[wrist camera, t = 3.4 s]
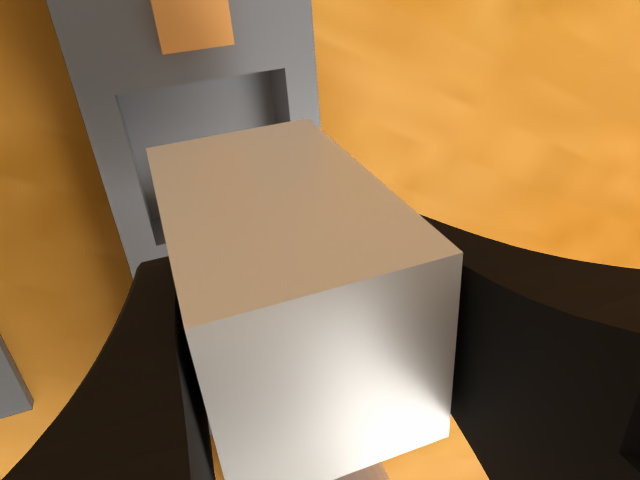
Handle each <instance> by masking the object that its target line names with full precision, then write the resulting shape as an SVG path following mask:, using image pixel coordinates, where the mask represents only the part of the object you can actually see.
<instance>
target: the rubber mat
mask: <svg viewBox="0 0 640 480" xmlns="http://www.w3.org/2000/svg"><path fill="white" fill-rule="evenodd" d="M33 402H34V400H33V398H32V396H31V394H30V392H29V390H28V388H27V386H26V384H25V382H24V380H23V378H22V377H21V375H20V373H19V371H18V369H17V367H16V365H15V363H14V361H13V359H12V357H11V355H10V353H9V351H8V349H7V347H6V345H5V343H4V341H3V339H2V337H1V335H0V419H1V418H4V417H8V416H11V415H15V414H18V413H21V412H25V411H28V410H32V409H33Z"/></svg>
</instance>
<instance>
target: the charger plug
mask: <svg viewBox="0 0 640 480" xmlns="http://www.w3.org/2000/svg"><path fill="white" fill-rule="evenodd" d="M146 152H147V157H148V161H149V166H150V171H151V175H152V180H153V185H154V189H155V194H156V199H157V204H158V208H159V213H160V218H161V222H162V227H163V232H164V236H165V241H166V246H167V250H168V255H169V260H170V265H171V269H172V274H173V279H174V283H175V288H176V293H177V297H178V302H179V307H180V311H181V316H182V321H183V326H184V330H185V334H186V338H187V341H188V345H189V349H190V353H191V356H192V360H193V364H194V367H195V371H196V375H197V379H198V382H199V386H200V390H201V394H202V397H203V401H204V405H205V408H206V412H207V416H208V420H209V423H210V427H211V431H212V435H213V438H214V442H215V446H216V450H217V453H218V457H219V461H220V464H221V468H222V472H223V476H224V479H225V480H334V479H337V478H339V477H342V476H345V475H347V474H350V473H353V472H355V471H358V470H360V469H363V468H366V467H368V466H371V465H374V464H376V463H379V462H382V461H384V460H387V459H390V458H392V457H395V456H398V455H400V454H403V453H406V452H408V451H411V450H414V449H416V448H419V447H422V446H424V445H427V444H430V443H432V442H435V441H438V440H440V439H443V438H446V437H448V436H449V425H450V412H451V400H452V387H453V374H454V362H455V349H456V337H457V324H458V312H459V299H460V287H461V274H462V261H463V252H462V251H461V250H460V249H459V248H457V247H456V246H455V245H454V244H453V243H452V242H451V241H449V240H448V239H447V238H446V237H445V236H444V235H442V234H441V233H440V232H439V231H438V230H437V229H435V228H434V227H433V226H432V225H431V224H430V223H429V222H427V221H426V220H425V219H424V218H423V217H422V216H420V215H419V214H418V213H417V212H416V211H415V210H413V209H412V208H411V207H410V206H409V205H408V204H407V203H405V202H404V201H403V200H402V199H401V198H400V197H398V196H397V195H396V194H395V193H394V192H393V191H391V190H390V189H389V188H388V187H387V186H386V185H385V184H383V183H382V182H381V181H380V180H379V179H378V178H376V177H375V176H374V175H373V174H372V173H371V172H369V171H368V170H367V169H366V168H365V167H364V166H363V165H361V164H360V163H359V162H358V161H357V160H356V159H354V158H353V157H352V156H351V155H350V154H349V153H347V152H346V151H345V150H344V149H343V148H342V147H341V146H339V145H338V144H337V143H336V142H335V141H334V140H332V139H331V138H330V137H329V136H328V135H327V134H325V133H324V132H323V131H322V130H321V129H320V128H319V127H317V126H316V125H315V124H314V123H313V122H312V121H310V120H309V119H308V118H306V119H301V120H295V121H290V122H284V123H279V124H274V125H268V126H263V127H257V128H252V129H247V130H241V131H236V132H231V133H225V134H220V135H214V136H209V137H204V138H198V139H193V140H187V141H182V142H177V143H171V144H166V145H161V146H155V147H150V148H146Z"/></svg>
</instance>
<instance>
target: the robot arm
mask: <svg viewBox="0 0 640 480" xmlns="http://www.w3.org/2000/svg"><path fill="white" fill-rule="evenodd" d="M419 215H420V214H419ZM420 216H422V215H420ZM422 217H423V218H424V219H425V220H426V221H427V222H429V223H430V224H431V225H432V226H433V227H434V228H435V229H437V230H438V231H439V232H440V233H441V234H442V235H444V236H445V237H446V238H447V239H448V240H449V241H451V242H452V243H453V244H454V245H455V246H456V247H457V248H459V249H460V250H461V251H462V252H463V261H462V274H461V287H460V299H459V312H458V324H457V337H456V349H455V362H454V374H453V387H452V400H451V412H450V413H451V415H452V416H453V418H454V420H455V421H456V423H457V425H458V426H459V428H460V430H461V431H462V433H463V435H464V436H465V438H466V440H467V441H468V443H469V444H470V446H471V448H472V449H473V451H474V453H475V455H476V456H477V458H478V460H479V462H480V464H481V465H482V467H483V469H484V471H485V472H486V474H487V476H488V478H489V479H490V480H640V269H633V268H624V267H617V266H610V265H603V264H597V263H590V262H583V261H578V260H572V259H567V258H562V257H557V256H553V255H548V254H544V253H539V252H535V251H531V250H527V249H523V248H519V247H515V246H512V245H508V244H505V243H502V242H498V241H495V240H492V239H488V238H485V237H482V236H479V235H476V234H473V233H470V232H467V231H464V230H461V229H458V228H455V227H453V226H450V225H447V224H444V223H442V222H439V221H436V220H433V219H431V218H428V217H425V216H422ZM2 480H215V474H214V466H213V458H212V449H211V441H210V432H209V424H208V416H207V412H206V408H205V405H204V401H203V397H202V394H201V390H200V386H199V382H198V379H197V375H196V371H195V367H194V364H193V360H192V356H191V353H190V349H189V345H188V341H187V338H186V334H185V330H184V326H183V321H182V316H181V311H180V307H179V302H178V297H177V293H176V288H175V283H174V279H173V274H172V269H171V265H170V260H169V256H166V257H162V258H158V259H153V260H149V261H145V262H141V263H140V265H139V266H138V267H137V269H136V273H135V276H134V279H133V282H132V285H131V288H130V291H129V293H128V296H127V298H126V301H125V303H124V305H123V308H122V310H121V312H120V314H119V316H118V319H117V321H116V323H115V325H114V327H113V329H112V331H111V333H110V335H109V337H108V339H107V341H106V342H105V344H104V346H103V348H102V350H101V351H100V353H99V355H98V357H97V359H96V361H95V362H94V364H93V366H92V367H91V369H90V370H89V372H88V374H87V375H86V377H85V378H84V380H83V381H82V383H81V384H80V386H79V387H78V389H77V390H76V392H75V393H74V394H73V396H72V397H71V399H70V400H69V402H68V403H67V404H66V406H65V407H64V408H63V410H62V411H61V412H60V414H59V415H58V416H57V417H56V419H55V420H54V421H53V422H52V424H51V425H50V426H49V427H48V428H47V430H46V431H45V432H44V433H43V434H42V436H41V437H40V438H39V439H38V440H37V442H36V443H35V444H34V445H33V446H32V448H31V449H30V450H29V451H28V452H27V453H26V454H25V455H24V457H23V458H22V459H21V460H20V461H19V462H18V463H17V464H16V465H15V466H14V467H13V468H12V469H11V470H10V471H9V473H8V474H7V475H6V476H5V477H4V478H3V479H2ZM334 480H390V478H389V476H388V474H387V472H386V470H385V468H384V467H383V465H382V463H381V462H379V463H376V464H374V465H371V466H368V467H366V468H363V469H360V470H358V471H355V472H353V473H350V474H347V475H345V476H342V477H339V478H337V479H334Z"/></svg>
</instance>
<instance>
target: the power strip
mask: <svg viewBox="0 0 640 480" xmlns="http://www.w3.org/2000/svg"><path fill="white" fill-rule="evenodd" d="M46 3H47V6H48V9H49V12H50V15H51V19H52V22H53V25H54V28H55V31H56V35H57V38H58V41H59V44H60V47H61V51H62V54H63V57H64V60H65V63H66V67H67V70H68V73H69V76H70V79H71V82H72V86H73V89H74V92H75V95H76V98H77V102H78V105H79V108H80V111H81V114H82V118H83V121H84V124H85V127H86V130H87V134H88V137H89V140H90V143H91V146H92V150H93V153H94V156H95V159H96V162H97V165H98V169H99V172H100V175H101V178H102V181H103V185H104V188H105V191H106V194H107V197H108V201H109V204H110V207H111V210H112V213H113V217H114V220H115V223H116V226H117V229H118V232H119V236H120V239H121V242H122V245H123V248H124V252H125V255H126V258H127V261H128V264H129V268H130V271H131V274H132V277H133V279H134V276H135V273H136V269H137V267H138V266H139V265H140V263H141V262H145V261H149V260H153V259H158V258H162V257H166V256H169V255H168V250H167V246H166V241H165V236H164V232H163V227H162V222H161V218H160V213H159V208H158V204H157V199H156V194H155V189H154V185H153V180H152V175H151V171H150V166H149V161H148V157H147V152H146V148H150V147H155V146H161V145H166V144H171V143H177V142H182V141H187V140H193V139H198V138H204V137H209V136H214V135H220V134H225V133H231V132H236V131H241V130H247V129H252V128H257V127H263V126H268V125H274V124H279V123H284V122H290V121H295V120H301V119H306V118H308V119H309V120H310V121H312V122H313V123H314V124H315V125H316V126H317V127H319V128H320V129H321V126H320V113H319V99H318V86H317V72H316V59H315V45H314V32H313V18H312V5H311V0H46ZM208 424H209V432H210V436H211V435H212V431H211V427H210V423H209V420H208Z"/></svg>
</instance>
